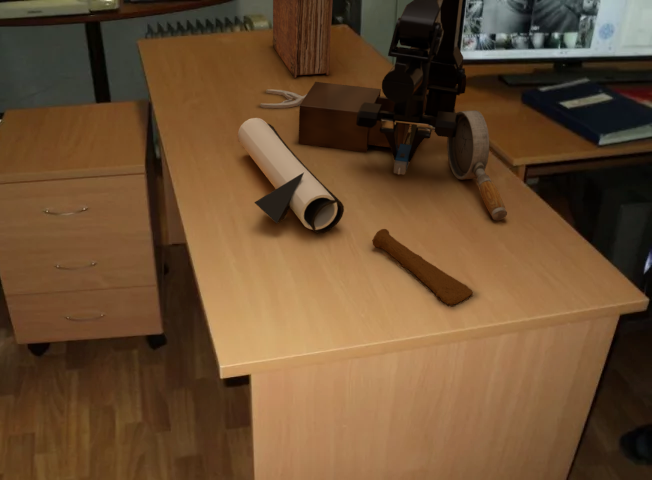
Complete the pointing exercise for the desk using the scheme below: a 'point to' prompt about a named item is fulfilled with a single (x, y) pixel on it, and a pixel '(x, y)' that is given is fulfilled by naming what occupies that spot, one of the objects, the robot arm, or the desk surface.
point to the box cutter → (402, 159)
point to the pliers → (287, 102)
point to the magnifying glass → (474, 158)
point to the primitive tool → (423, 269)
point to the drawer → (380, 138)
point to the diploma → (288, 180)
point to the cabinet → (335, 116)
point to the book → (303, 35)
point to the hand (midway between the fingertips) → (402, 160)
